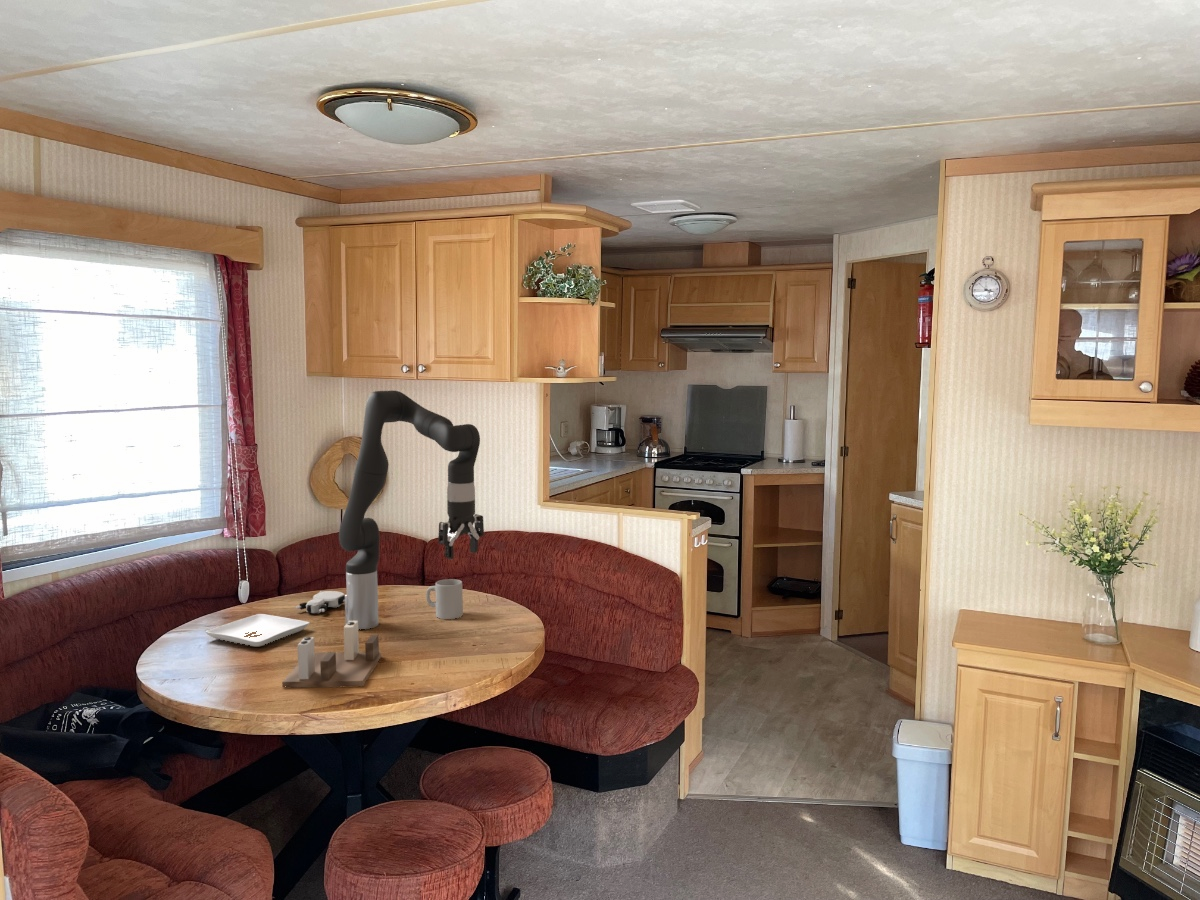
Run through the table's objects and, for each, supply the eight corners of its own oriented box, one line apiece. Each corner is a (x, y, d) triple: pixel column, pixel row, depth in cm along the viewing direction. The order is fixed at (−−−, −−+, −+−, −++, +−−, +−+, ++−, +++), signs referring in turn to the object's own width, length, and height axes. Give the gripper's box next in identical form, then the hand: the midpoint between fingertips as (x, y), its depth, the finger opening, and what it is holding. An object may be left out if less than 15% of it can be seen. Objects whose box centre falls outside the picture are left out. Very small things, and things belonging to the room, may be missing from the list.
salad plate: (312, 631, 271) (311, 620, 270) (258, 652, 252) (257, 641, 251) (259, 623, 280) (259, 612, 279) (204, 642, 260) (203, 631, 260)
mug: (467, 613, 289) (466, 579, 288) (456, 620, 281) (456, 586, 279) (432, 610, 292) (431, 577, 290) (421, 618, 283) (420, 584, 282)
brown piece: (282, 687, 224) (281, 662, 224) (308, 657, 246) (307, 634, 245) (362, 686, 225) (361, 661, 224) (381, 657, 247) (380, 634, 246)
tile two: (298, 679, 225) (297, 643, 224) (305, 671, 231) (304, 636, 230) (308, 679, 225) (307, 643, 224) (315, 670, 231) (313, 635, 230)
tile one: (344, 660, 239) (343, 626, 238) (350, 652, 245) (349, 619, 244) (353, 660, 239) (352, 626, 238) (358, 652, 245) (357, 619, 244)
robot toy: (324, 620, 284) (353, 604, 298) (322, 606, 284) (352, 591, 297) (293, 616, 289) (323, 601, 303) (291, 602, 288) (321, 588, 302)
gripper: (471, 492, 251) (472, 548, 253) (431, 499, 240) (432, 558, 243) (490, 496, 246) (490, 553, 249) (449, 504, 235) (450, 563, 238)
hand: (461, 555), depth 246 cm, fingers open, 8 cm apart
